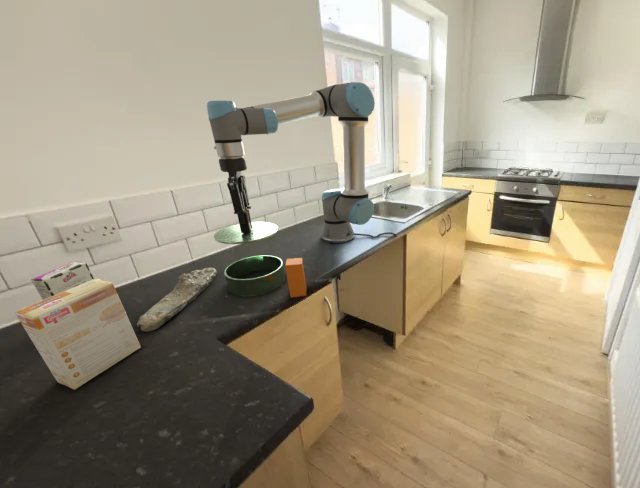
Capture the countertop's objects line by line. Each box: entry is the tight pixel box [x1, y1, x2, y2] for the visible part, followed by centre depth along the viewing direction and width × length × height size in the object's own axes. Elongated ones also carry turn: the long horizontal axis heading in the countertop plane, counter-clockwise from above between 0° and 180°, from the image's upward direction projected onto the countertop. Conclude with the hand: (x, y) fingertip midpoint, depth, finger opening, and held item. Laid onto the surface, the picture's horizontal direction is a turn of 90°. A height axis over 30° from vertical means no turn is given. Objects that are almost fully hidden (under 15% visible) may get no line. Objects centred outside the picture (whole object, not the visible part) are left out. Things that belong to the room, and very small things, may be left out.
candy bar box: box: [30, 261, 95, 300], centre depth 92 cm, size 11×5×16 cm, turn 170°
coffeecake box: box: [14, 278, 142, 391], centre depth 73 cm, size 15×7×20 cm, turn 159°
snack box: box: [284, 257, 308, 298], centre depth 103 cm, size 5×5×12 cm
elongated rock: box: [136, 267, 218, 332], centre depth 103 cm, size 35×5×10 cm
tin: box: [223, 254, 286, 297], centre depth 112 cm, size 19×19×6 cm
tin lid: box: [213, 207, 279, 245], centre depth 104 cm, size 20×20×9 cm
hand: (246, 230), depth 106 cm, fingers closed on tin lid, 3 cm apart
